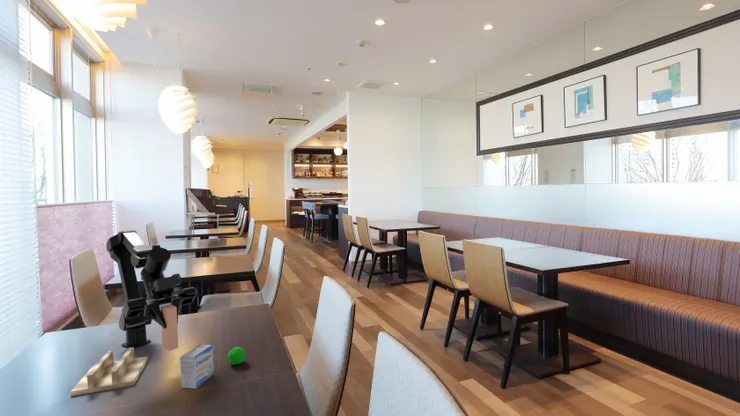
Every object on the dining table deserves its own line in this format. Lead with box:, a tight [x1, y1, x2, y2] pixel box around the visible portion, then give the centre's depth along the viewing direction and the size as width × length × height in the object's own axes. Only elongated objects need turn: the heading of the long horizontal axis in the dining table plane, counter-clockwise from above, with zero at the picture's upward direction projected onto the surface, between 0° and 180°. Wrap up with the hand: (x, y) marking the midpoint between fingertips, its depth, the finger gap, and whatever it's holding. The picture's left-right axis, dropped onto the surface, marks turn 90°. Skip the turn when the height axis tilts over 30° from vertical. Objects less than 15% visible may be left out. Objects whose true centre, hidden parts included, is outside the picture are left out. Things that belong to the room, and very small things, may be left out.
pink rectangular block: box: [160, 303, 179, 352], centre depth 106 cm, size 4×3×12 cm, turn 49°
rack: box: [70, 347, 149, 397], centre depth 104 cm, size 16×14×5 cm
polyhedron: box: [227, 346, 246, 366], centre depth 110 cm, size 5×5×5 cm
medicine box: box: [179, 344, 215, 390], centre depth 100 cm, size 8×4×9 cm, turn 168°
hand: (171, 326), depth 105 cm, fingers closed on pink rectangular block, 3 cm apart
